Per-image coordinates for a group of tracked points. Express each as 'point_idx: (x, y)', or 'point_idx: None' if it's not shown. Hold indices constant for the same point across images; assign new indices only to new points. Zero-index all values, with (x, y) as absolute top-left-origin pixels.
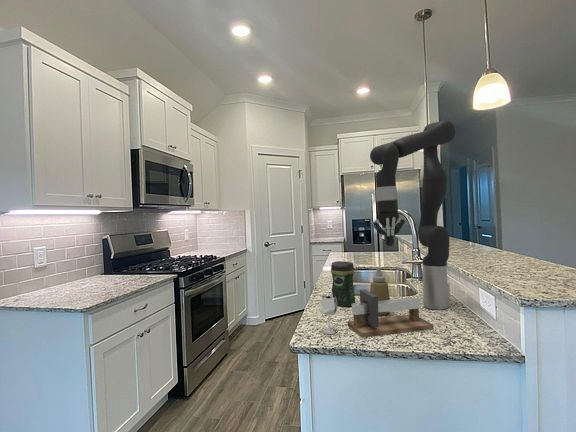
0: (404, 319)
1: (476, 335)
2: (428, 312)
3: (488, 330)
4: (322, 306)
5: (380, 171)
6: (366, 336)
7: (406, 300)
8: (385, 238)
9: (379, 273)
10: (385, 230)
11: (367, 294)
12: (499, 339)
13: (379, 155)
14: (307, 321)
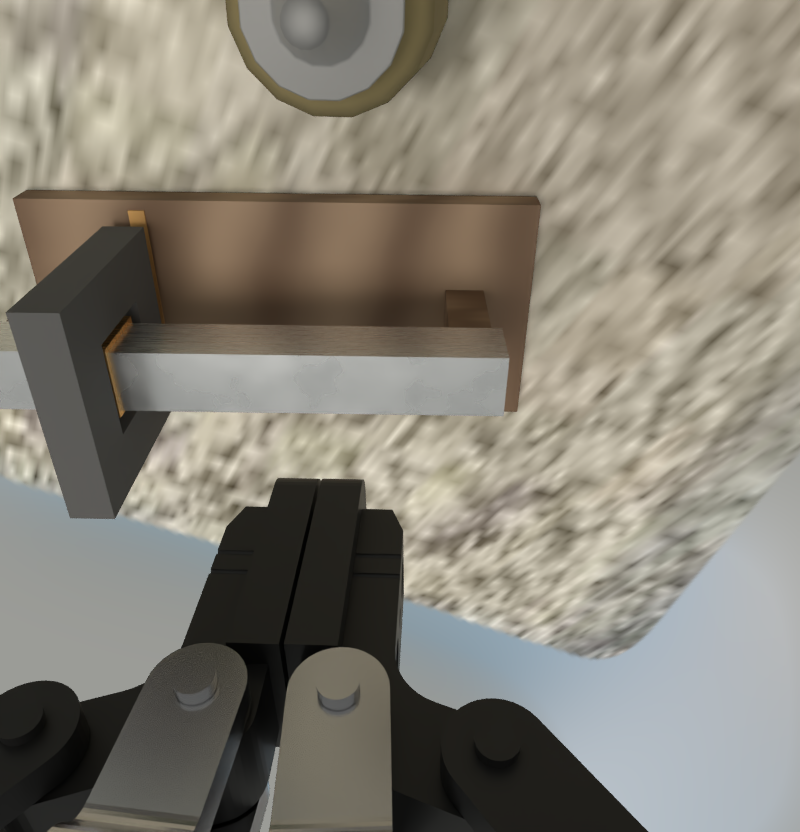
0: (411, 287)
1: (642, 511)
2: (737, 106)
3: (754, 482)
4: None
5: None
6: None
7: (399, 404)
8: (203, 635)
9: (306, 59)
10: (162, 825)
11: (49, 451)
12: (688, 563)
13: None
14: None
